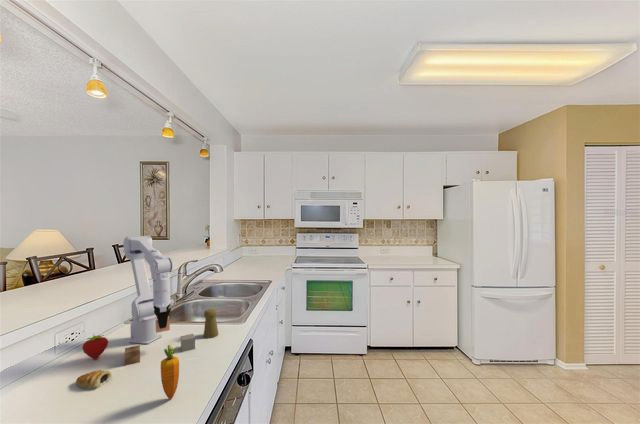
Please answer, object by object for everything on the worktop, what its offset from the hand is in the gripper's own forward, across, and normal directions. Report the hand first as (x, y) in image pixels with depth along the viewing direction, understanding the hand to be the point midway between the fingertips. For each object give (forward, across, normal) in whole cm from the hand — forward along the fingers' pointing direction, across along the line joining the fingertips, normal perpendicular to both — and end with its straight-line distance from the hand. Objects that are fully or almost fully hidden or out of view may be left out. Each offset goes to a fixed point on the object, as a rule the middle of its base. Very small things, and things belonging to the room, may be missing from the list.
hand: (162, 325), depth 113 cm
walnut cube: (+10, -4, +10) cm, 14 cm away
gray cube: (+10, -4, -8) cm, 13 cm away
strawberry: (+10, +6, +21) cm, 24 cm away
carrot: (+10, -35, 0) cm, 37 cm away
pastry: (+10, -13, +20) cm, 26 cm away
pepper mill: (+10, +4, -18) cm, 21 cm away
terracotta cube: (+2, 0, 0) cm, 2 cm away
